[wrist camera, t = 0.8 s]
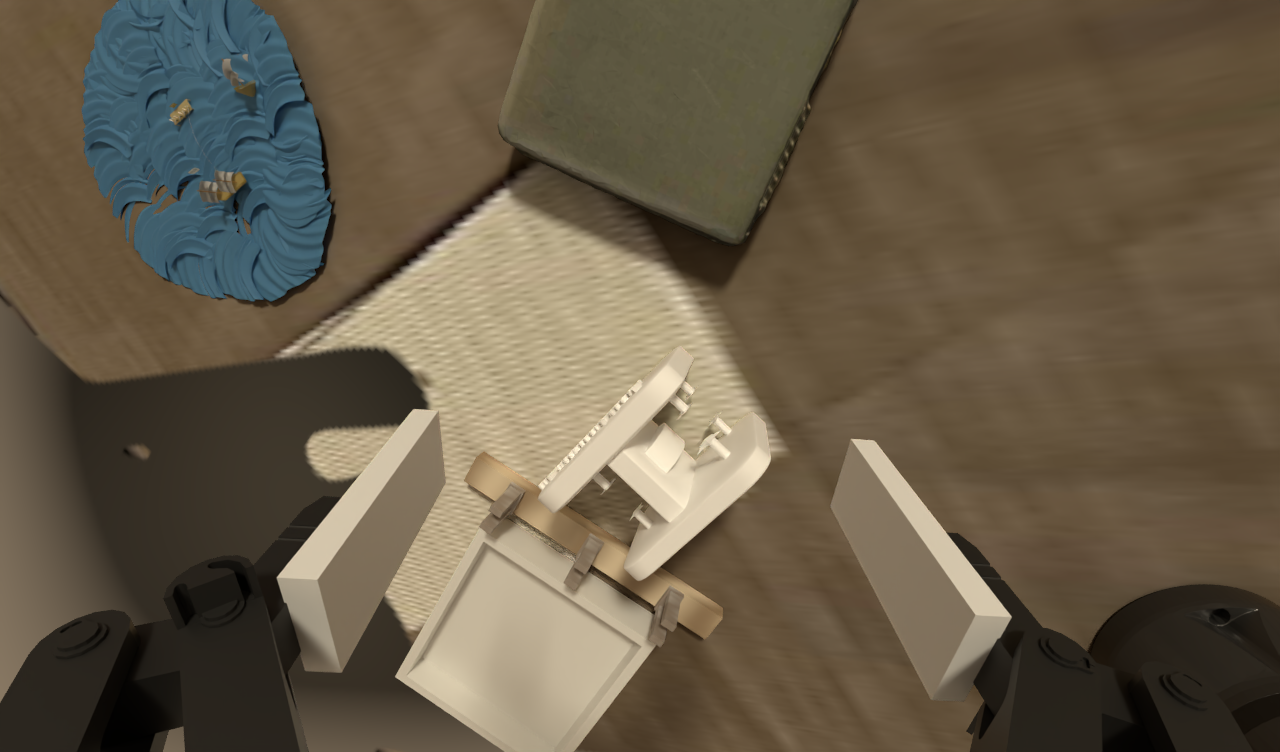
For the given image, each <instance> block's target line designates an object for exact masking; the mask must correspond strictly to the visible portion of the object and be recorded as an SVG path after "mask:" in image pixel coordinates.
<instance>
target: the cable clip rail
mask: <svg viewBox="0 0 1280 752" xmlns="http://www.w3.org/2000/svg"><path fill="white" fill-rule="evenodd" d="M464 481H465V482H467V483H468V484H470V485H471V486H473V487H474V488H476V489H477V490H479V491H480V492H482V493H483V494H485V495H486V496H488V497H489V498H491V499H492V500H494V501H495V502H494V503H493V504H492V505H491V507H490V509H489V511H490V512H491V513H490V514H489V515H488V516H487V517H486V518H485V519H484V520H483V521H482V523H481V525H480V526H479V528H481V529H482V530H484V531H485V532H487V533H489V534H491V533H492V532H493V531H494V530H495V529H496V528H497V527H498V525H499V524H500V523H501V522H502V521H503V520H504V519H505V518H506V517H507V516H508V514H510V515H511V514H512V513H514V514H515V515H517V516H518V517H520V518H521V519H523V520H524V521H526V522H527V523H529V524H530V525H532V526H533V527H535V528H537V529H538V530H540V531H541V532H543V533H544V534H546V535H547V536H549V537H550V538H552V539H553V540H555V541H556V542H558V543H559V544H561V545H562V546H564V547H565V548H567V549H568V550H570V551H571V552H573V553H575V554H576V556H575V558H577V559H576V560H575V562H574V564H573V566H572V568H571V570H570V571H569V573H568V575H567V577H566V579H565V581H564V582H563V583H564V584H566V585H567V586H569V587H570V588H572V589H573V590H575V589H576V588H577V586H578V584H579V582H580V580H581V578H582V576H583V574H586V573H587V571H588V570H589V568H590V566H591V565H593V566H594V567H596V568H597V569H599V570H600V571H602V572H603V573H605V574H606V575H608V576H609V577H611V578H613V579H614V580H616V581H617V582H619V583H620V584H622V585H623V586H625V587H626V588H628V589H629V590H631V591H632V592H634V593H635V594H637V595H638V596H640V597H641V598H643V599H644V600H646V601H647V602H649V603H651V604H652V605H654V606H655V607H654V610H656V612H655V616H654V620H653V624H652V629H651V633H650V637H649V640H650V641H652V642H653V643H655V644H656V645H658V646H659V647H661V646H662V644H663V643H664V642H665V637H666V632H667V629H669V630H670V631H672V632H673V630H674V629H675V628H676V626H677V621H678V622H679V623H681V624H682V625H684V626H685V627H687V628H689V629H690V630H692V631H693V632H695V633H696V634H698V635H699V636H701V637H702V638H704V639H706V638H707V637H708V636H709V634H710V633H711V632H712V631H713V629H714V628H715V627H716V626H717V625H718V623H719V622H720V621H721V620H722V618H723V608H722V607H721V606H719V605H718V604H716V603H715V602H713V601H712V600H710V599H709V598H707V597H706V596H704V595H702V594H701V593H699V592H698V591H696V590H695V589H693V588H692V587H690V586H689V585H687V584H686V583H684V582H683V581H681V580H680V579H678V578H676V577H675V576H673V575H672V574H670V573H669V572H667V571H666V570H664V569H663V568H661V567H659V568H658V569H657V570H656V571H655V572H653V573H652V574H651V575H650V576H648V577H647V578H645V579H643V580H641V581H637V580H636V579H635V578H633V577H632V576H631V575H630V574H629V573H628V572H627V571H626V570H625V569H624V563H625V560H626V558H627V555H628V552H629V550H630V547H629V546H628V545H626V544H624V543H623V542H621V541H620V540H618V539H617V538H615V537H614V536H612V535H611V534H609V533H608V532H606V531H605V530H603V529H602V528H600V527H598V526H597V525H595V524H594V523H592V522H591V521H589V520H588V519H586V518H585V517H583V516H582V515H580V514H579V513H577V512H575V511H574V510H572V509H571V508H569V507H568V506H566V505H565V506H564V507H563V508H562V509H560V510H559V511H557V512H556V513H551V512H550V511H549V510H548V509H547V508H546V507H545V506H544V505H543V504H542V503H541V502H540V501H539V500H538V496H539V494H540V493H541V491H542V490H541V489H540V488H539V487H537V486H536V485H534V484H533V483H531V482H530V481H528V480H527V479H525V478H523V477H522V476H520V475H519V474H517V473H516V472H514V471H513V470H511V469H510V468H508V467H507V466H505V465H504V464H502V463H501V462H499V461H497V460H496V459H494V458H493V457H491V456H490V455H488V454H487V453H485V452H483V453H481V454H480V455H479V456H477V457H476V459H475V461H474V463H473V465H472V466H471V468H470V470H469V472H468V474H467V476H466V478H465V480H464Z"/></svg>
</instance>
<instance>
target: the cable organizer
mask: <svg viewBox="0 0 1280 752" xmlns="http://www.w3.org/2000/svg"><path fill="white" fill-rule="evenodd" d="M693 361H694V358H693V357H692V356H691V355H690V354H689V353H688V352H687V351H686V350H685V349H684V348H682V347H681V346H678V347H676V348H675V349H673V350H672V351H671V352H670V353H668V354H667V355H666V356H665V357H664V358H663V359H662V360H661V361H660V362H659V363H658V364H657V365H656V366H655V367H654V368H653V369H652V370H651V371H650V372H649V373H648V374H647V376H646V377H645V378H644V379H643V380H642V381H641V380H640V379H639V380H638V381H637V383H636V384H635V385H633V386H632V388H631V389H630V390H629V391H628V392H627V393H626V394H625V395H624V396H623V397H622V398H621V399H620V400H619V401H618V402H617V404H615V405H614V407H613V408H612V409H611V410H610V411H609V412H608V413H607V414H606V415H605V416H604V417H603V418H602V419H601V420H600V421H599V422H598V423H597V424H596V425H595V426H594V427H593V429H592V430H591V431H590V432H589V433H588V434H587V435H586V436H585V437H584V438H583V439H582V440H581V441H580V442H579V443H578V444H577V445H576V447H575V448H573V450H572V451H571V452H570V453H569V454H568V455H567V456H566V457H565V458H564V459H563V460H562V461H561V462H560V464H559V465H558V466H556V467H555V469H554V470H553V471H552V472H551V473H550V474H549V475H548V476H547V477H546V478H545V479H544V480H543V481H542V482H541V483H540V484H539V486H538V487H539V488H540V489H541V490H542V491H541V493H540V494H539V496H538V500H539V501H540V502H541V503H542V504H543V505H544V506H545V507H546V508H547V509H548V510H549V511H550V512H551V513H556V512H557V511H559V510H560V509H562V508H563V507H564V506H565V505H566V504H568V503H569V502H570V501H571V500H572V499H573V498H574V497H575V496H576V495H577V494H578V493H579V492H580V491H581V490H582V489H583V488H584V487H585V486H586V485H587V484H588V483H589V482H590V481H591V480H592V479H593V480H594V481H595V482H596V483H597V484H598V485H600V486H601V487H602V488H603V489H604V491H603V492H602V494H603V493H604V492H605V491H606V490H608V489H609V488H610V486H611V485H612V483H613V482H614V481H615V479H616V478H615V479H614V478H613V479H612V481H611V482H609V481H608V480H607V479H606V478H605V477H604V476H602V475H601V474H600V473H599V472H600V471H601V470H602V469H603V468H604V467H605V466H606V465H608V466H609V467H610V468H611V469H612V470H613V471H614V472H615V473H616V474H617V475H618V476H619V477H620V478H621V479H623V480H624V481H625V482H626V483H627V484H628V485H629V486H630V487H631V488H632V489H633V490H634V491H635V492H636V493H637V494H639V495H640V496H641V497H642V498H643V499H644V500H645V501H646V502H647V503H648V504H649V506H648V508H647V509H646V510H645V512H644V513H643V512H642V511H641V510H640V509H641V508H642V507H643V505H642V506H641V504H642V503H641V504H640V505H639V506H638V507H637V508H636V510H635V511H634V512H633V515H632V517H631V519H632V518H633V517H635V518H636V519H637V520H638V521H640V523H639V526H638V529H637V531H636V534H635V537H634V539H633V542H632V544H631V547H630V550H629V552H628V555H627V558H626V560H625V563H624V569H625V570H626V571H627V572H628V573H629V574H630V575H631V576H632V577H633V578H635V579H636V580H637V581H641V580H643V579H645V578H647V577H648V576H650V575H651V574H652V573H653V572H655V571H656V570H657V569H658V568H659V567H660V566H661V565H663V564H664V563H665V562H666V561H667V560H668V559H669V558H671V557H672V556H673V555H674V554H675V553H676V552H677V551H679V550H680V549H681V548H682V547H683V546H684V545H685V544H687V543H688V542H689V541H690V540H691V539H692V538H693V537H695V536H696V535H697V534H698V533H699V532H700V531H701V530H703V529H704V528H705V527H706V526H707V525H708V524H710V523H711V522H712V521H713V520H714V519H715V518H716V517H718V516H719V515H720V514H721V513H722V512H723V511H724V510H726V509H727V508H728V507H729V506H730V505H731V504H732V503H734V502H735V501H736V500H737V499H738V498H739V497H740V496H742V495H743V494H744V493H745V492H746V491H747V490H748V489H750V488H751V487H752V486H753V485H754V484H755V483H756V482H757V481H758V479H759V478H760V477H761V476H762V475H763V473H764V472H765V470H766V469H767V467H768V466H769V463H770V461H771V455H770V448H769V442H768V436H767V429H766V424H765V422H764V421H763V420H762V419H761V418H760V417H758V416H757V415H756V414H755V413H754V412H751V413H749V414H747V415H745V416H744V417H742V418H741V419H740V420H738V421H737V422H736V423H735V424H734V425H733V426H732V427H731V428H730V427H728V426H727V425H726V424H725V423H724V422H723V421H722V420H721V419H720V418H719V417H718V416H719V415H720V413H721V412H720V413H719V414H718V412H717V413H716V414H715V415H714V417H713V418H712V419H711V420H710V421H709V422H710V424H709V426H710V425H711V424H712V423H713V424H714V425H715V426H716V427H718V428H719V429H720V430H721V431H722V432H723V433H724V434H723V435H722V436H721V437H720V438H719V439H718V440H717V439H716V438H715V436H716V435H717V434H718V433H719V432H717V433H715V434H713V433H712V434H711V435H709V436H708V437H707V438H705V439H704V441H703V442H702V444H701V445H700V447H699V448H700V450H699V452H698V454H699V453H700V452H701V451H702V450H703V449H704V448H705V447H707V446H709V445H710V447H709V448H708V449H707V450H706V451H705V452H704V453H703V454H702V455H701V456H700V457H698V458H697V459H696V460H694V459H693V458H692V457H691V456H690V455H689V454H688V453H687V452H686V451H685V450H683V449H684V446H685V441H684V440H683V439H682V438H681V437H679V436H678V435H677V434H676V433H675V432H674V431H673V430H672V429H671V428H670V427H669V426H668V425H667V424H666V423H662V424H661V425H660V426H658V425H657V424H656V423H655V422H654V421H653V420H652V418H653V417H654V416H655V415H656V414H657V413H658V412H659V411H660V410H661V409H662V408H663V407H664V406H665V405H666V404H667V403H668V402H669V401H670V402H671V403H672V404H673V405H674V406H675V407H676V408H677V409H678V410H679V411H680V412H681V413H680V414H681V415H680V416H679V418H680V417H681V416H682V415H683V414H685V413H686V412H687V410H688V409H689V408H690V406H691V405H692V403H693V402H692V403H691V404H690V405H689V404H688V405H686V404H685V403H684V402H683V401H682V400H681V399H680V398H679V397H678V396H677V395H676V393H677V391H678V390H679V389H680V388H681V389H682V390H683V391H684V392H685V393H686V394H687V396H686V397H687V398H686V400H687V399H688V398H689V397H690V396H691V395H693V393H694V392H695V390H696V389H697V387H696V388H695V387H694V389H693V388H692V387H691V386H690V385H689V384H688V383H687V382H686V381H685V378H686V376H687V374H688V371H689V369H690V367H691V365H692V363H693ZM679 418H678V419H679ZM678 419H677V420H678ZM709 426H708V427H709ZM631 519H630V520H631ZM630 520H629V521H630Z"/></svg>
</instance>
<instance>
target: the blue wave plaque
mask: <svg viewBox="0 0 1280 752" xmlns="http://www.w3.org/2000/svg"><path fill="white" fill-rule="evenodd" d="M94 45H95V49H94V50H93V51H92V52H91V54H90V57H91V59H90V62H89V63H88V65H87V66H86V68H85V70H84V72H85V78H84V80H83V83H84V86H85V88H86V91H85V93H84V95H83V97H84V105H83V107H82V114H83V120H84V123H85V125H86V127H85V128H84V132H85V135H86V136H85V137H84V138H83V140H84V141H85V148H84V153H85V155H86V157H87V162H88V165H89V166H90V167H91V168H92V167H93V166H95V170H94V177H95V178H96V180H97V181H98V184H99V190H100V192H101V193H102V195H103V196H104V197H105V198H106V197H107V195H108V193H109V191H110V190H111V188H112V186H113V185H114V184H115V183H116V182H117V181H118V180H120V179H122V178H124V179H122V180H121V181H119V182H118V183H117V184H116V185H115V187H114V188H113V190H112V194H111V197H110V204H111V202H112V200H113V198H114V196H115V194H116V193H117V194H116V196H115V199H114V203H113V215H114V216H115V217H116V218H118V216H119V214H120V212H121V219H122V212H123V207H124V206H125V205H126V204H127V203H128V202H130V203H129V205H128V207H127V210H126V214H125V233H126V240H127V242H129V221H130V216H131V212H132V209H133V206H134V204H135V202H136V201H144V202H148V203H151V202H152V200H151V196H152V194H153V192H154V190H155V188H156V186H157V185H158V184H159V186H158V189H159V187H160V186H162V185H163V184H164V185H165V186H166V187H167V188H168V191H167V192H166V193H165V194H164V195H163V196H162V197H161V198H160V199H159V201H158V202H157V204H154V205H150V206H148V207H146V208H145V209H144V210H143V211H142V212H141V213H140V215H139V216H138V219H137V222H136V225H135V232H134V249H135V250H137V251H138V252H139V253H140V255H141V258H142V260H143V261H144V262H146V263H147V264H148V265H149V266H151V267H152V268H154V270H155V272H156V273H158V274H159V275H160V276H162V277H164V278H166V279H168V281H169V280H170V281H172V282H173V283H174V284H177V285H181V284H182V285H183V286H185V287H188V288H190V289H192V290H193V291H194V292H196V293H199V294H202V295H208V294H209V295H210V297H211V298H216V297H220V298H226V297H225V296H224V294H229V295H232V296H233V297H235V298H237V299H245V300H250V301H255V300H254V299H260V300H264V299H263V297H264V298H265V299H267V300H269V301H271V302H272V301H274V300H276V299H278V298H280V297H282V296H283V295H285V294H286V292H287V290H289V289H291V288H293V287H295V286H298V285H300V284H302V283H304V282H305V281H306V280H308V279H310V278H311V277H312V276H314V275H315V274H316V272H315V270H314V269H316V268H319V267H320V266H322V265H324V263H321V262H320V261H321V256H322V254H323V250H324V248H323V245H322V241H323V238H324V235H325V231H326V228H327V226H328V221H329V217H330V215H331V212H330V210H331V206H332V205H331V204H330V203H329V202H328V201H327V197H328V196H329V194H330V192H331V188H330V189H328V190H326V191H324V190H325V184H324V183H325V182H324V179H323V176H322V172H323V171H324V170H325V169H324V168H323V167H322V165H323V164H324V163H323V161H322V151H321V147H322V143H321V140H320V139H321V135H320V133H319V129H318V126H317V122H316V118H315V116H314V112H313V106H312V104H311V103H309V102H307V101H305V100H304V97H305V93H304V91H303V89H302V88H301V87H300V82H301V81H302V80H301V79H300V78H299V77H298V75H299V73H298V72H297V71H296V70H295V67H294V63H293V58H292V55H291V53H290V52H289V50H288V47H287V42H286V39H285V37H284V35H283V34H282V32H281V30H280V28H279V27H278V25H277V23H276V21H275V19H274V16H271V15H266V14H265V10H261V9H260V6H257V5H255V4H254V3H253V2H252V1H251V0H118V2H117V3H116V5H115V6H114V7H113V8H112V9H110V10H108V11H107V12H106V13H105V14H104V16H103V19H102V25H101V30H100V31H99V32H98V33H97V34H96V36H95V44H94ZM145 169H146V170H145ZM153 169H155V170H154V171H153V172H152V173H151V171H152V170H153ZM144 171H145V172H144ZM150 173H151V175H150V177H149V179H147V178H148V176H149V174H150ZM125 177H127V178H125ZM186 181H189V182H188V185H187V187H185V186H179V185H181V184H182V183H184V182H186ZM131 182H132V183H131ZM139 182H142V183H139ZM128 183H129V184H128ZM126 184H127V185H126ZM145 184H147V185H145ZM124 185H125V186H124ZM122 186H124V187H122ZM121 187H122V188H121ZM120 188H121V189H120ZM183 188H186V189H185V190H184V193H183V195H182V198H181V200H180V201H178V194H177V191H178V190H179V189H183ZM119 189H120V190H119ZM158 189H157V190H158ZM118 190H119V191H118ZM117 191H118V192H117ZM156 194H157V193H156ZM170 194H172V195H173V196H174V197H176V198H177V201H178V202H175V203H173V204H171V205H170V206H168V207H167V208H166V209H164V210H163V211H162V212H161V213H157V214H154V215H153V213H154V211H155V210H156V209H158V208H159V207H161V205H160V204H161V203H162V201H163V200H165V199H166V198H167V197H168V196H169V195H170ZM155 197H156V196H155ZM234 199H235V200H236V201H237V202H238V203H239V206H238V212H237V214H235V213H234V212H235V211H236V210H235V208H234V207H233V203H234ZM211 205H215V206H212V207H209V208H207V209H205V207H208V206H211ZM242 213H243V214H242ZM236 217H237V221H238V225H237V224H236V222H235V218H236ZM243 218H244V219H245V220H246V221H247V222H248V223H249V224H250V228H251V234H248V235H247V233H246V230H245V227H244V222H243ZM238 227H239V231H240V235H239V234H238V233H237V230H238ZM198 263H199V267H198ZM199 270H200V273H199ZM200 276H201V277H200ZM201 279H202V280H201ZM203 284H204V285H203ZM204 286H205V287H204ZM206 290H207V291H206ZM207 292H208V293H207ZM223 293H224V294H223ZM209 295H208V296H209ZM226 299H227V298H226Z"/></svg>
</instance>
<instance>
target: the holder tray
mask: <svg viewBox="0 0 1280 752" xmlns="http://www.w3.org/2000/svg"><path fill="white" fill-rule="evenodd" d="M573 564H574V562H573V561H572V560H570V559H569V558H567V557H566V556H564V555H563V554H561V553H559V552H558V551H556V550H555V549H553V548H552V547H550V546H549V545H547V544H546V543H544V542H543V541H541V540H540V539H538V538H537V537H535V536H534V535H532V534H531V533H529V532H528V531H526V530H525V529H523V528H522V527H520V526H519V525H517V524H515V523H514V522H512V521H511V520H509V519H508V518H505V519H504V520H503V521H502V522H501V523H500V524H499V525H498V527H497V528H496V529H495V530H494V531H493V532H492V533H491V534H489V533H487V532H485V531H484V530H482V529H481V528H479V529H478V531H477V533H476V535H475V536H474V538H473V540H472V542H471V544H470V545H469V547H468V549H467V551H466V552H465V554H464V556H463V558H462V559H461V561H460V563H459V565H458V567H457V568H456V570H455V572H454V574H453V575H452V577H451V579H450V581H449V582H448V584H447V586H446V588H445V589H444V591H443V593H442V595H441V597H440V598H439V600H438V602H437V604H436V605H435V607H434V609H433V611H432V612H431V614H430V616H429V618H428V620H427V621H426V623H425V625H424V627H423V628H422V630H421V632H420V634H419V635H418V637H417V639H416V641H415V643H414V644H413V646H412V648H411V650H410V652H409V653H408V655H407V657H406V659H405V660H404V662H403V664H402V666H401V667H400V669H399V671H398V673H397V674H396V678H398V679H399V680H401V681H402V682H403V683H405V684H406V685H408V686H409V687H411V688H412V689H414V690H415V691H417V692H418V693H420V694H421V695H422V696H424V697H425V698H427V699H428V700H430V701H431V702H433V703H434V704H436V705H437V706H439V707H440V708H442V709H443V710H445V711H446V712H447V713H449V714H451V715H452V716H453V717H455V718H456V719H458V720H459V721H461V722H462V723H463V724H465V725H467V726H468V727H470V728H471V729H472V730H474V731H475V732H477V733H478V734H480V735H481V736H483V737H484V738H486V739H487V740H488V741H490V742H491V743H493V744H494V745H496V746H497V747H499V748H500V749H502V750H503V751H504V752H574V751H575V750H576V748H577V747H578V746H579V744H580V743H581V742H582V741H583V739H584V738H585V737H586V735H587V734H588V733H589V731H590V730H591V729H592V728H593V726H594V725H595V724H596V722H597V721H598V720H599V719H600V717H601V716H602V715H603V713H604V712H605V711H606V710H607V708H608V707H609V706H610V704H611V703H612V702H613V700H614V699H615V698H616V697H617V695H618V694H619V693H620V691H621V690H622V689H623V688H624V686H625V685H626V684H627V682H628V681H629V680H630V678H631V677H632V676H633V675H634V673H635V672H636V671H637V669H638V668H639V667H640V666H641V664H642V663H643V662H644V660H645V659H646V658H647V656H648V655H649V654H650V653H651V651H652V650H653V649H654V647H655V646H656V644H655V643H653V642H652V641H650V640H649V637H650V633H651V629H652V624H653V620H654V616H655V615H654V614H652V613H651V612H649V611H648V610H646V609H644V608H643V607H641V606H640V605H638V604H637V603H635V602H634V601H632V600H631V599H629V598H628V597H626V596H625V595H623V594H622V593H620V592H619V591H617V590H616V589H614V588H613V587H611V586H610V585H608V584H607V583H605V582H604V581H602V580H600V579H599V578H597V577H596V576H594V575H593V574H591V573H590V572H588V571H587V573H586V574H583V576H582V578H581V580H580V582H579V584H578V586H577V588H576V589H575V590H573V589H572V588H570V587H569V586H567V585H566V584H564V583H563V582H564V581H565V579H566V577H567V575H568V573H569V571H570V570H571V568H572V566H573Z"/></svg>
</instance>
